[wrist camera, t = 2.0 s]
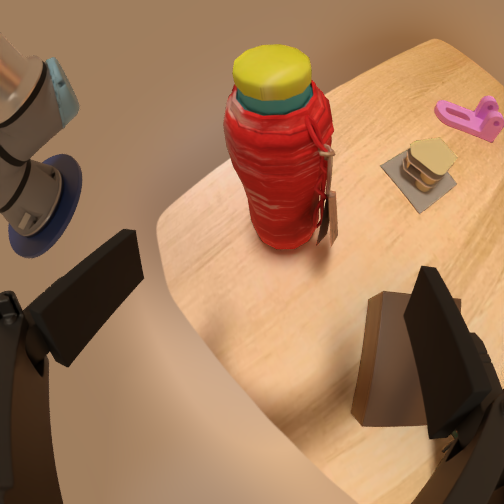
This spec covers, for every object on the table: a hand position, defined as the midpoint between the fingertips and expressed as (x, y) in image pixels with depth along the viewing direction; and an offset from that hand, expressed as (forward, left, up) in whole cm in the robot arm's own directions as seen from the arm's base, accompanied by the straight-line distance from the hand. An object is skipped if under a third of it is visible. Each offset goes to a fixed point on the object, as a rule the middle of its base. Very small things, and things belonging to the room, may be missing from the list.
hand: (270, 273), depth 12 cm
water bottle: (0, +10, -22) cm, 25 cm away
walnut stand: (+15, -4, -22) cm, 27 cm away
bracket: (+30, +37, -22) cm, 53 cm away
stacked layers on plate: (+18, +22, -22) cm, 36 cm away
